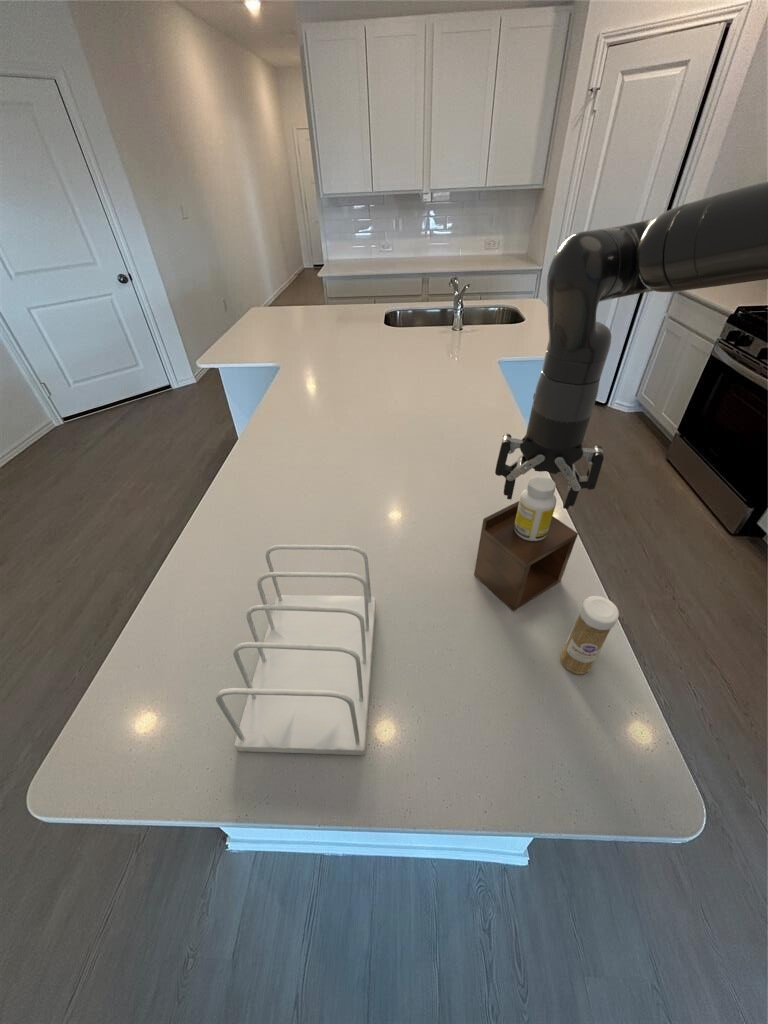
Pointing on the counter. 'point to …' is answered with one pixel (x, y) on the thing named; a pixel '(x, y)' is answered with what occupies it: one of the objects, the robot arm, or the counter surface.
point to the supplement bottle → (535, 509)
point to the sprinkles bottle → (589, 634)
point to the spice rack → (521, 558)
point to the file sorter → (308, 669)
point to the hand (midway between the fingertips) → (537, 500)
